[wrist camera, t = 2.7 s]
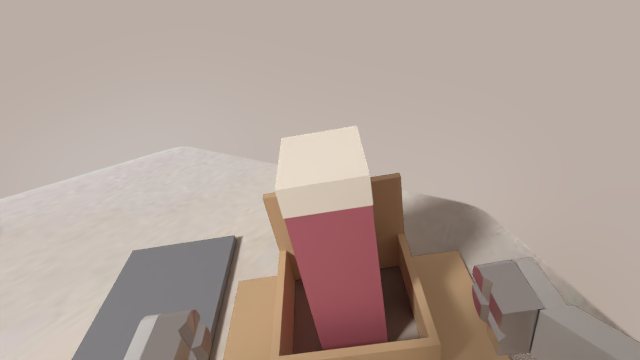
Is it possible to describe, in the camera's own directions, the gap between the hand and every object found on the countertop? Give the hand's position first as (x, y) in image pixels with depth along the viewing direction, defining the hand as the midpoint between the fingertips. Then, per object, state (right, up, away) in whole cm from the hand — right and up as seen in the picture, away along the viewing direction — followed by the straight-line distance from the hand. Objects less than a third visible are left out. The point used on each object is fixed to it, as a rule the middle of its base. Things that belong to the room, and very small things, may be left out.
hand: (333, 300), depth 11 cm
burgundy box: (+2, -8, +20) cm, 21 cm away
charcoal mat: (-16, -9, +24) cm, 30 cm away
